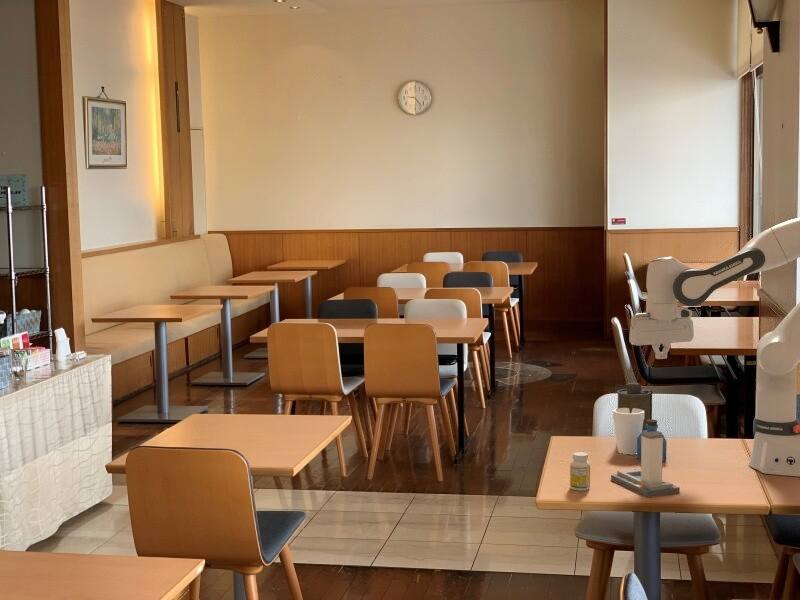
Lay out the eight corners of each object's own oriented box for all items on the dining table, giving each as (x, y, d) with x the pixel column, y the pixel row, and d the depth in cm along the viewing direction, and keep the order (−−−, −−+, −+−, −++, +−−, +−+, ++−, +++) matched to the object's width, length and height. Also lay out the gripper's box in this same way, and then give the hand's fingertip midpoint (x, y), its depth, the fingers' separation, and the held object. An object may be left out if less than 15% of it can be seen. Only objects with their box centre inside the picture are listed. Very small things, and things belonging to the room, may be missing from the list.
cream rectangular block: (640, 482, 281) (640, 432, 279) (653, 481, 282) (654, 431, 281) (649, 486, 277) (649, 436, 276) (662, 484, 278) (663, 434, 277)
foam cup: (641, 456, 314) (642, 414, 313) (611, 454, 317) (611, 413, 316) (645, 449, 323) (645, 408, 322) (615, 447, 326) (615, 406, 325)
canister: (624, 450, 322) (624, 387, 320) (611, 442, 333) (612, 381, 331) (657, 448, 324) (657, 385, 322) (643, 440, 334) (644, 379, 332)
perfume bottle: (655, 456, 315) (655, 417, 314) (666, 461, 309) (666, 421, 308) (637, 458, 313) (637, 419, 312) (648, 463, 307) (648, 423, 306)
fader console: (611, 479, 290) (611, 471, 289) (641, 476, 293) (641, 467, 293) (647, 497, 273) (647, 488, 273) (679, 493, 276) (679, 483, 276)
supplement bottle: (582, 492, 278) (582, 457, 277) (566, 488, 282) (566, 454, 281) (594, 488, 282) (594, 453, 281) (578, 484, 286) (578, 450, 285)
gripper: (637, 314, 297) (636, 362, 299) (697, 311, 304) (696, 357, 306) (625, 312, 303) (624, 359, 305) (684, 309, 310) (683, 354, 311)
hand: (661, 358), depth 305 cm, fingers closed
